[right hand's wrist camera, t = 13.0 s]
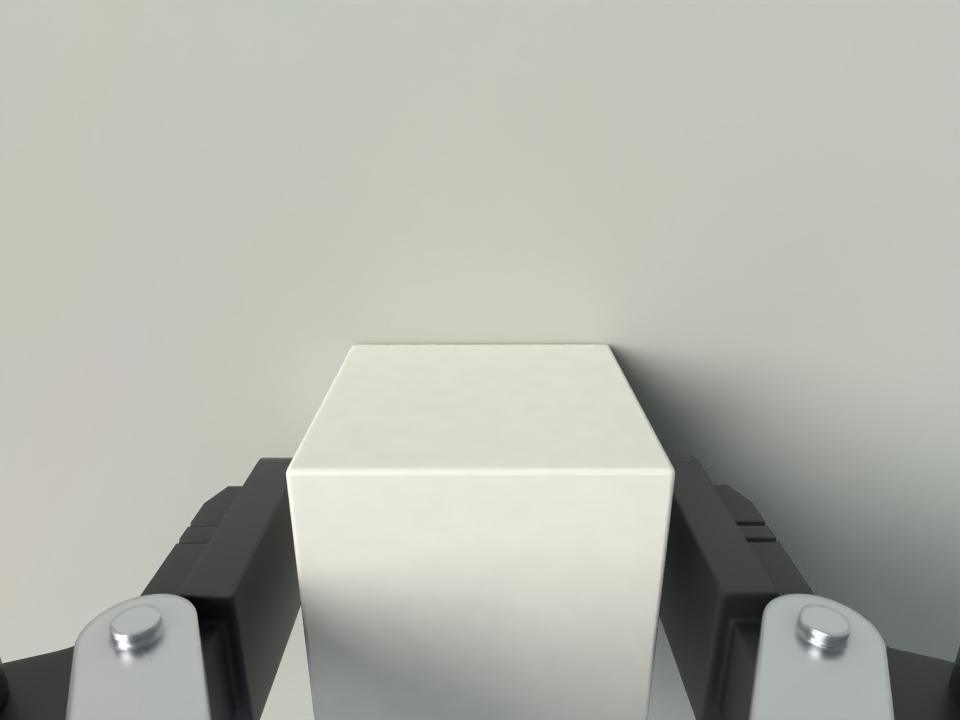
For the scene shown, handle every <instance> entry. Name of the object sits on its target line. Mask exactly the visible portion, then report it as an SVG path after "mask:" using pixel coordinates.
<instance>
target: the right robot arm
mask: <svg viewBox="0 0 960 720" xmlns="http://www.w3.org/2000/svg"><path fill="white" fill-rule="evenodd" d="M668 458H669V460H670V462H671V464H672V466H673V468H674V470H675V480H674V489H673V498H672V507H671V516H670V524H669V533H668V542H667V551H666V560H665V568H664V577H663V586H662V595H661V604H660V613H659V615H660V618H661V621H662V624H663V627H664V630H665V632H666V635H667V638H668V641H669V644H670V647H671V649H672V652H673V655H674V658H675V661H676V664H677V667H678V669H679V672H680V675H681V678H682V681H683V684H684V687H685V689H686V692H687V695H688V698H689V701H690V704H691V706H692V709H693V712H694V715H695V718H696V720H960V648H959V651H958V654H957V657H956V660H955V663H954V662H949V661H945V660H941V659H936V658H932V657H927V656H923V655H918V654H914V653H910V652H905V651H901V650H897V649H893V648H889V647H886V646H885V643H884V640H883V638H882V636H881V635H880V633H879V632H878V631H877V629H876V628H875V627H874V626H873V625H872V624H871V623H870V622H869V621H868V620H867V619H866V618H864V617H863V616H862V615H860V614H859V613H857V612H856V611H854V610H853V609H851V608H849V607H847V606H845V605H843V604H841V603H838V602H836V601H833V600H830V599H827V598H824V597H820V596H815V595H814V593H813V592H812V590H811V589H810V587H809V586H808V584H807V583H806V581H805V580H804V579H803V577H802V576H801V574H800V573H799V571H798V570H797V568H796V567H795V565H794V564H793V562H792V561H791V559H790V558H789V557H788V555H787V554H786V552H785V551H784V549H783V548H782V546H781V545H780V543H777V542H776V537H775V536H774V535H773V533H772V532H771V530H770V529H769V527H768V526H765V521H764V520H763V518H762V517H761V515H760V514H759V513H758V511H757V510H756V508H755V507H754V505H753V504H752V502H750V501H749V500H747V499H746V498H745V497H743V496H742V495H740V494H739V493H738V492H736V491H735V490H733V489H732V488H731V487H729V486H713V484H712V483H711V481H710V480H709V478H708V476H707V475H706V473H705V471H704V470H703V468H702V466H701V465H700V463H699V462H698V460H697V459H696V458H695V457H668ZM292 459H293V458H261V459H260V460H259V461H258V463H257V464H256V466H255V467H254V469H253V471H252V472H251V474H250V475H249V477H248V479H247V480H246V482H245V484H244V485H243V486H228V487H227V488H225V489H224V490H222V491H221V492H220V493H218V494H217V495H215V496H214V497H213V498H211V499H210V500H208V501H207V502H205V503H204V504H203V506H202V507H201V509H200V510H199V512H198V513H197V515H196V516H195V517H194V519H193V520H192V522H191V526H190V527H188V528H187V529H186V531H185V532H184V533H183V535H182V536H181V538H180V539H179V540H180V541H179V544H176V545H175V546H174V548H173V549H172V551H171V552H170V554H169V555H168V557H167V558H166V560H165V561H164V562H163V564H162V565H161V567H160V568H159V570H158V571H157V573H156V574H155V575H154V577H153V578H152V580H151V581H150V583H149V584H148V586H147V587H146V588H145V590H144V591H143V593H142V594H141V596H140V597H136V598H133V599H130V600H127V601H124V602H122V603H119V604H117V605H115V606H113V607H111V608H109V609H107V610H106V611H104V612H103V613H101V614H100V615H98V616H97V617H96V618H94V619H93V620H92V621H91V622H90V623H89V624H88V625H87V626H86V627H85V628H84V629H83V631H82V632H81V633H80V635H79V636H78V638H77V640H76V643H75V646H73V647H70V648H67V649H63V650H60V651H56V652H52V653H47V654H43V655H38V656H34V657H30V658H25V659H21V660H16V661H12V662H7V663H3V664H2V661H1V658H0V720H260V718H261V715H262V712H263V709H264V706H265V704H266V701H267V698H268V695H269V692H270V690H271V687H272V684H273V681H274V678H275V676H276V673H277V670H278V667H279V664H280V662H281V659H282V656H283V653H284V650H285V648H286V645H287V642H288V639H289V636H290V634H291V631H292V628H293V625H294V623H295V620H296V617H297V614H298V611H299V609H300V606H301V599H300V591H299V582H298V573H297V565H296V556H295V548H294V539H293V530H292V522H291V513H290V505H289V496H288V487H287V479H286V471H287V469H288V467H289V465H290V463H291V461H292Z"/></svg>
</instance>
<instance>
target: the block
mask: <svg viewBox="0 0 960 720" xmlns="http://www.w3.org/2000/svg"><path fill="white" fill-rule="evenodd" d="M286 479H287V487H288V496H289V505H290V513H291V522H292V530H293V539H294V548H295V556H296V565H297V573H298V582H299V591H300V599H301V608H302V617H303V625H304V634H305V642H306V651H307V660H308V668H309V677H310V686H311V694H312V703H313V711H314V720H647V718H648V710H649V701H650V692H651V683H652V674H653V665H654V657H655V648H656V639H657V630H658V621H659V613H660V604H661V595H662V586H663V577H664V568H665V560H666V551H667V542H668V533H669V524H670V516H671V507H672V498H673V489H674V480H675V470H674V468H673V466H672V464H671V462H670V460H669V458H668V456H667V455H666V453H665V451H664V449H663V447H662V445H661V443H660V441H659V439H658V438H657V436H656V434H655V432H654V430H653V428H652V426H651V424H650V422H649V421H648V419H647V417H646V415H645V413H644V411H643V409H642V407H641V405H640V404H639V402H638V400H637V398H636V396H635V394H634V392H633V390H632V388H631V387H630V385H629V383H628V381H627V379H626V377H625V375H624V373H623V372H622V370H621V368H620V366H619V364H618V362H617V360H616V358H615V356H614V355H613V353H612V351H611V349H610V347H609V346H608V345H606V344H517V345H353V346H352V347H351V349H350V351H349V353H348V355H347V357H346V358H345V360H344V362H343V364H342V366H341V368H340V370H339V372H338V374H337V376H336V377H335V379H334V381H333V383H332V385H331V387H330V389H329V391H328V393H327V395H326V396H325V398H324V400H323V402H322V404H321V406H320V408H319V410H318V412H317V414H316V415H315V417H314V419H313V421H312V423H311V425H310V427H309V429H308V431H307V433H306V434H305V436H304V438H303V440H302V442H301V444H300V446H299V448H298V450H297V451H296V453H295V455H294V457H293V459H292V461H291V463H290V465H289V467H288V469H287V471H286Z"/></svg>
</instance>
